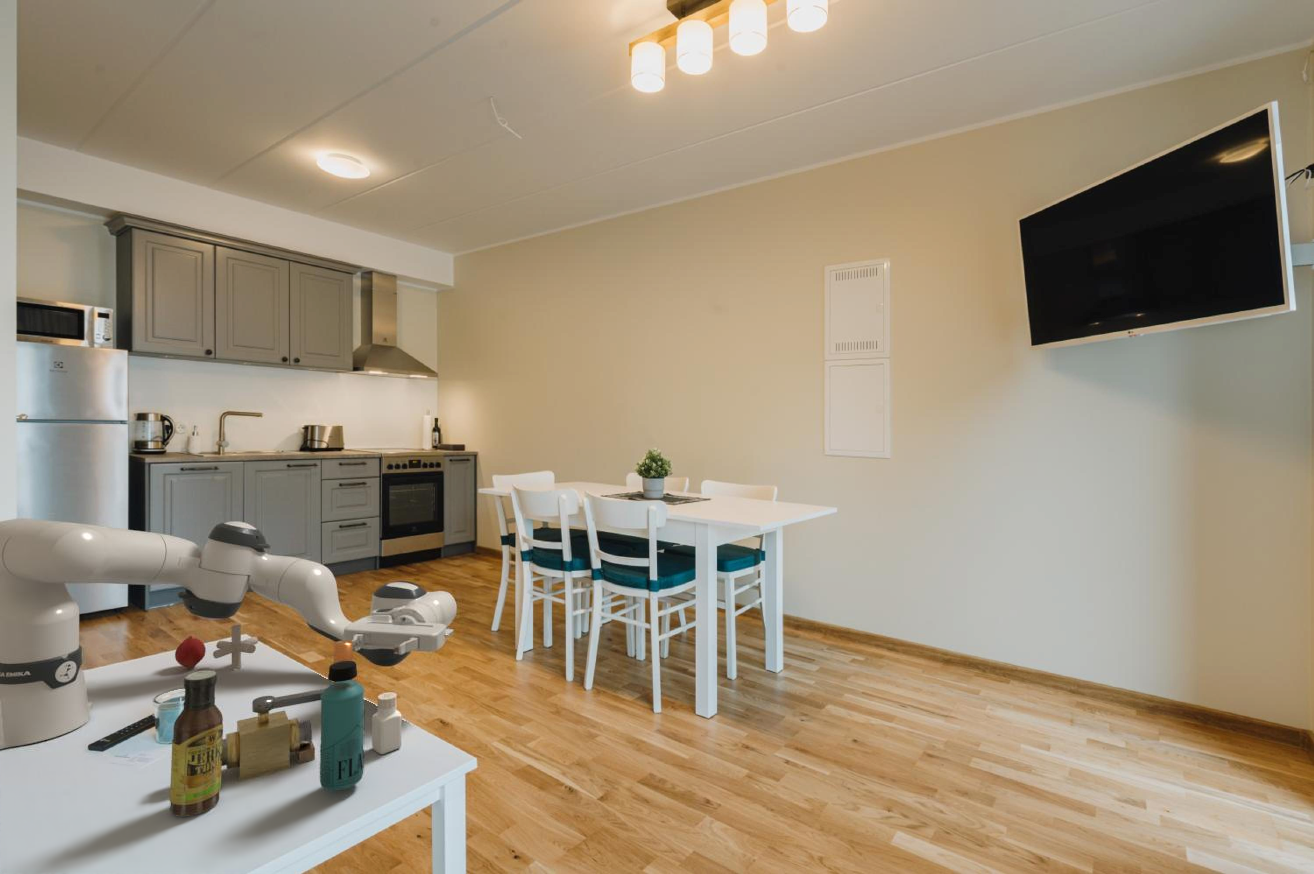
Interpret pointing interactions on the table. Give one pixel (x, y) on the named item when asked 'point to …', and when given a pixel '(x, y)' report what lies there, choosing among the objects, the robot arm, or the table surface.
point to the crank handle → (270, 702)
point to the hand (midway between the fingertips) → (374, 648)
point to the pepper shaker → (386, 724)
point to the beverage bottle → (342, 728)
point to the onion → (190, 652)
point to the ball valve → (267, 744)
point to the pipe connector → (235, 647)
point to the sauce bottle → (197, 748)
